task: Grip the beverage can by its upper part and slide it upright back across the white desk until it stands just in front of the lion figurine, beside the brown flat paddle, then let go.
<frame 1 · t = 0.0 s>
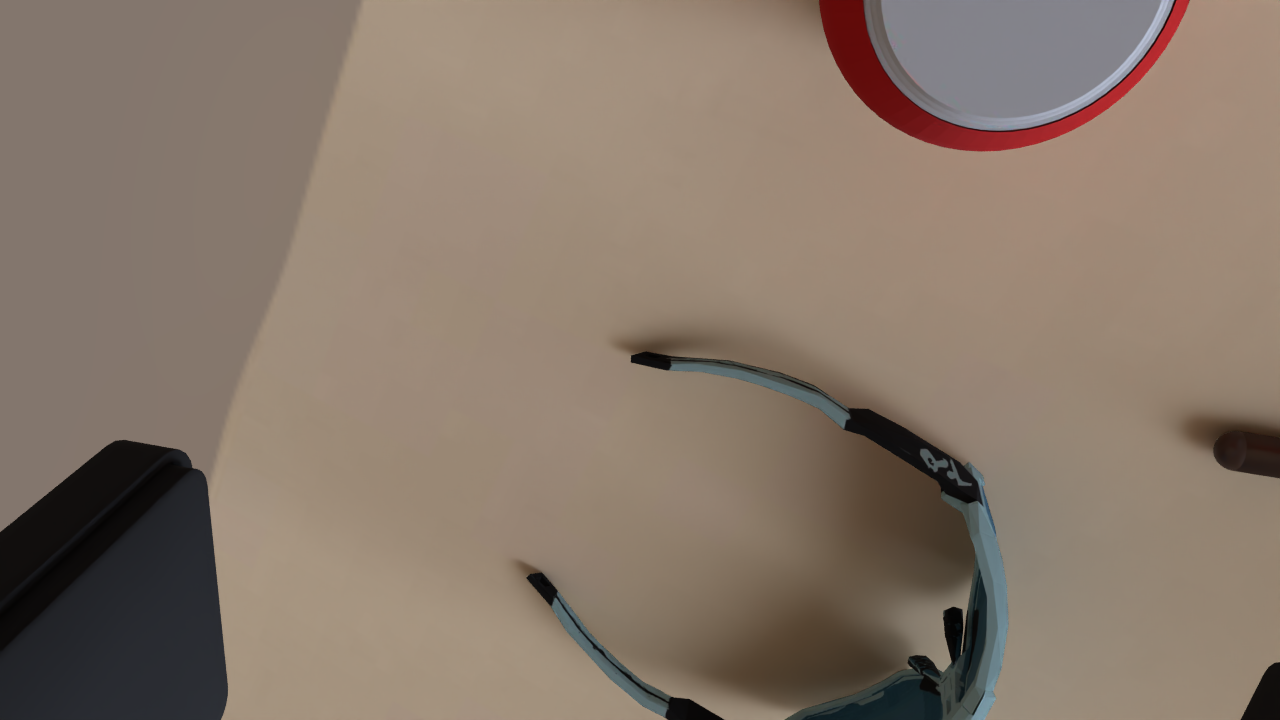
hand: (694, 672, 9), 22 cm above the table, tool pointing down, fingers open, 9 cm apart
sunglasses: (771, 547, 35), on the table
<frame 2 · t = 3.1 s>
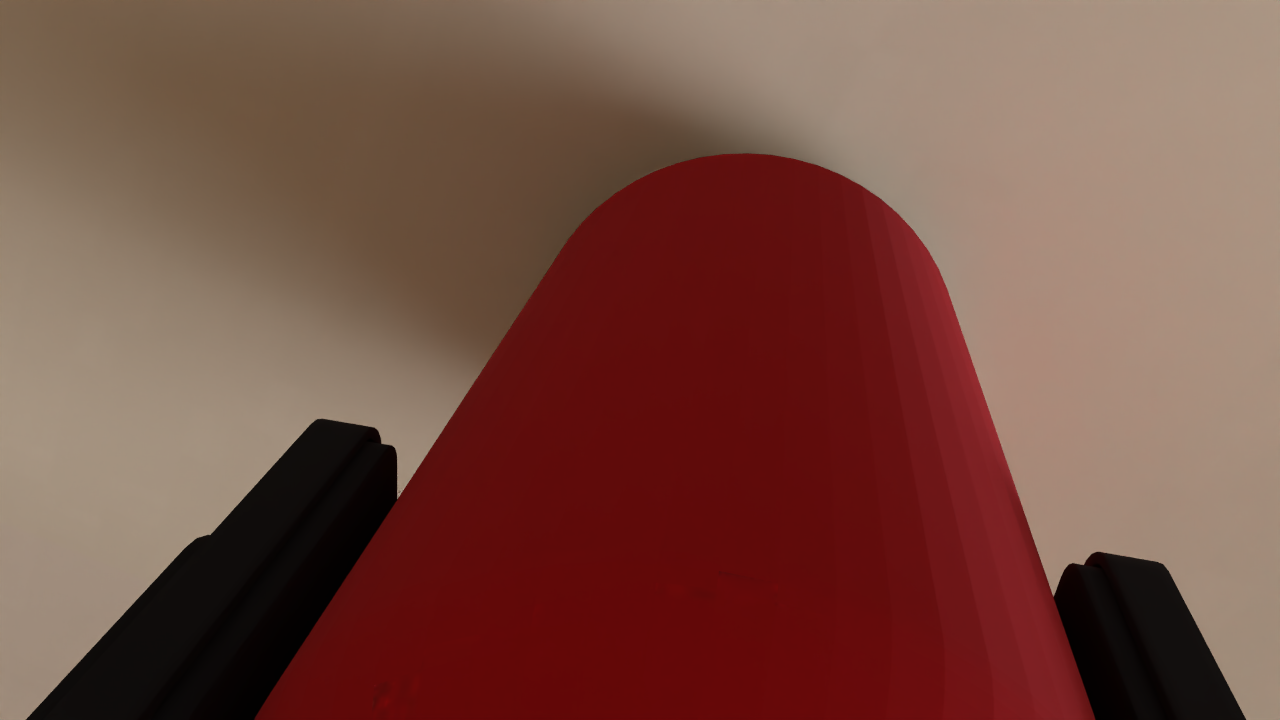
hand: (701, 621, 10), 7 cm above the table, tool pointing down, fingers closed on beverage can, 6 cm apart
beverage can: (744, 323, 16), on the table, touching gripper
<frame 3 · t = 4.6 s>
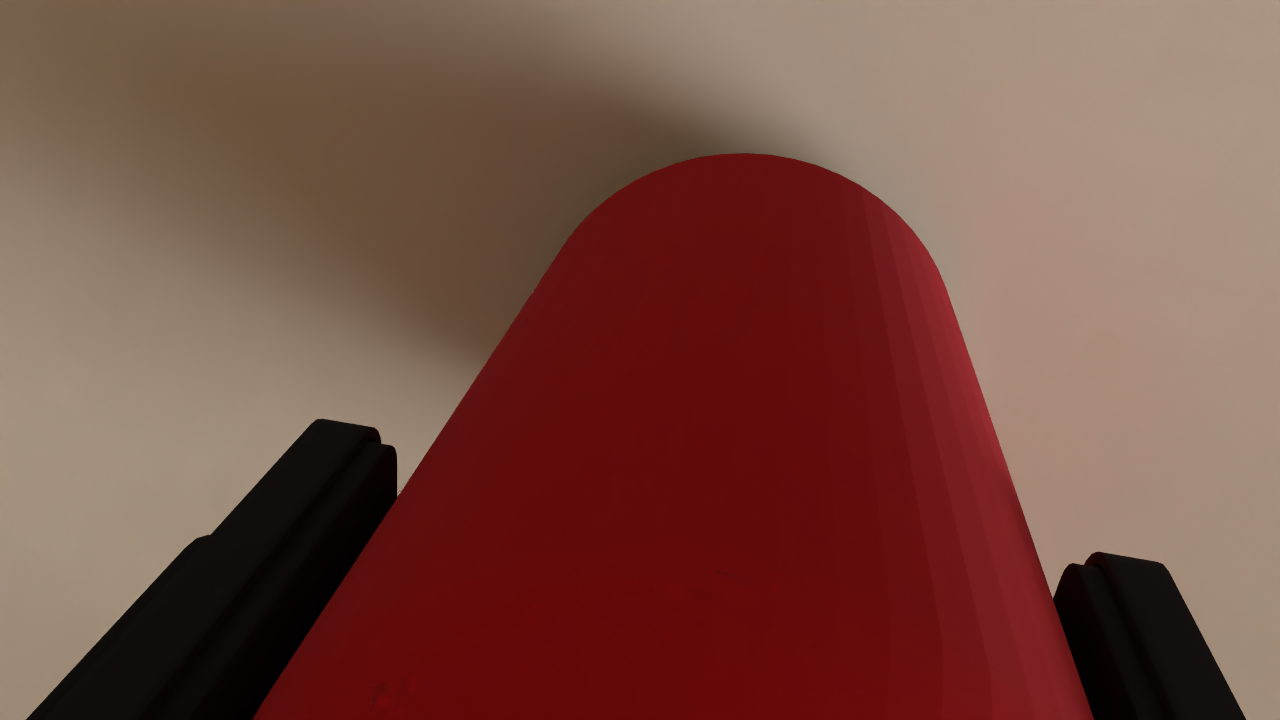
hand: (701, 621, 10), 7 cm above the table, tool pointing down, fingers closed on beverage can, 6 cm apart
beverage can: (743, 323, 16), on the table, touching gripper
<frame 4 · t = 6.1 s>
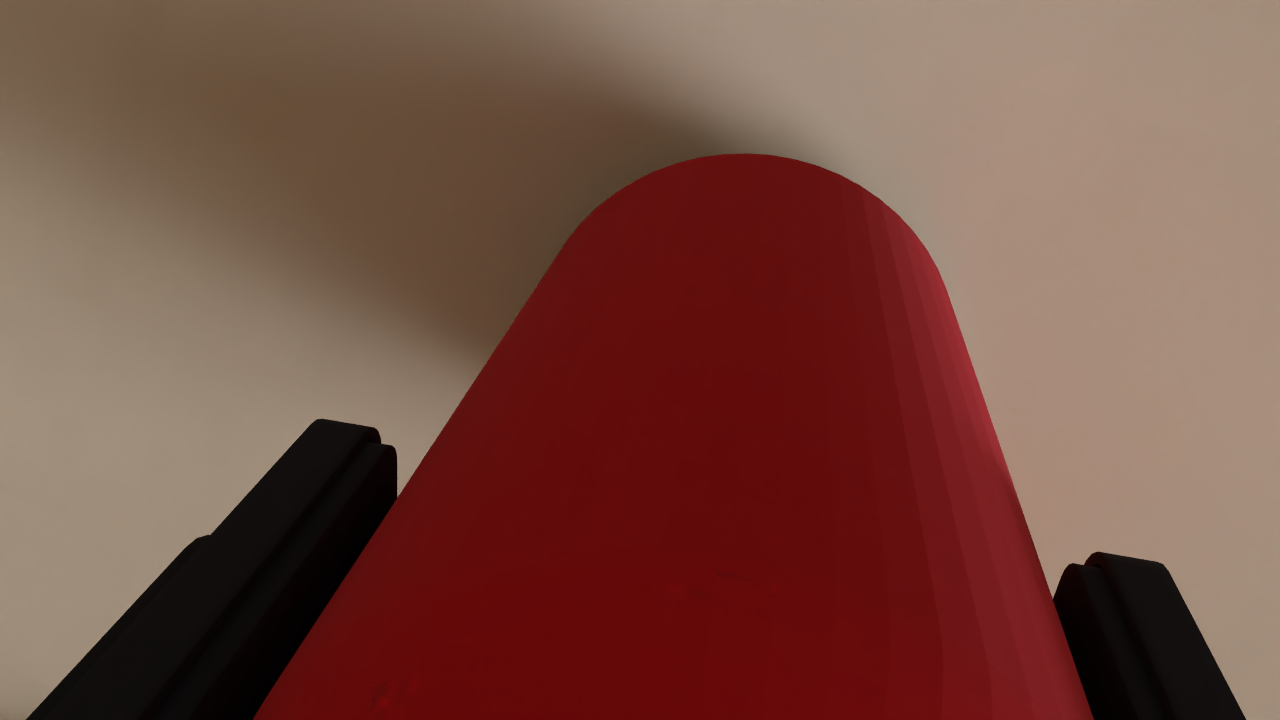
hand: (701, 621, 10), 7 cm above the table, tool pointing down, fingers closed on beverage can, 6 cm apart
beverage can: (743, 323, 16), on the table, touching gripper
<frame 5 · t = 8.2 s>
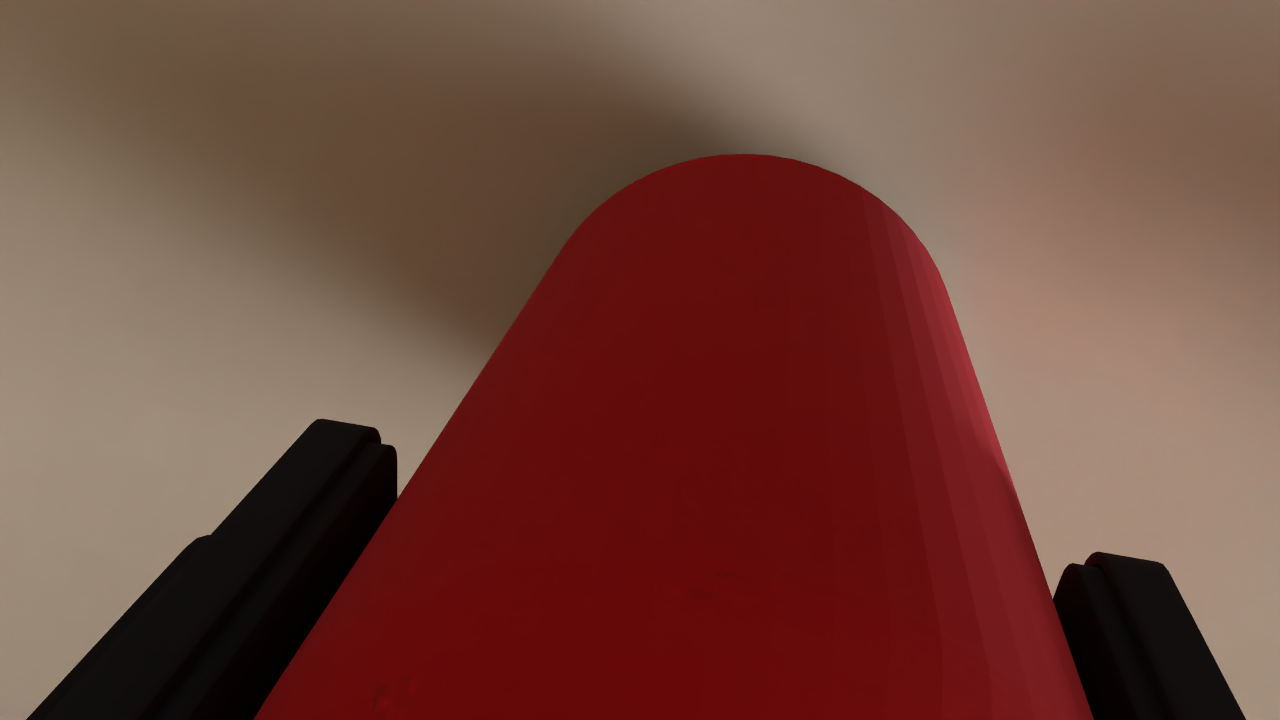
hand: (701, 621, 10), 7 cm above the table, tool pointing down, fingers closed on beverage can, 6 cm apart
beverage can: (743, 324, 16), on the table, touching gripper
when the fingers open (7 cm above the table, at t = 9.4 s): beverage can stays where it is, on the table.
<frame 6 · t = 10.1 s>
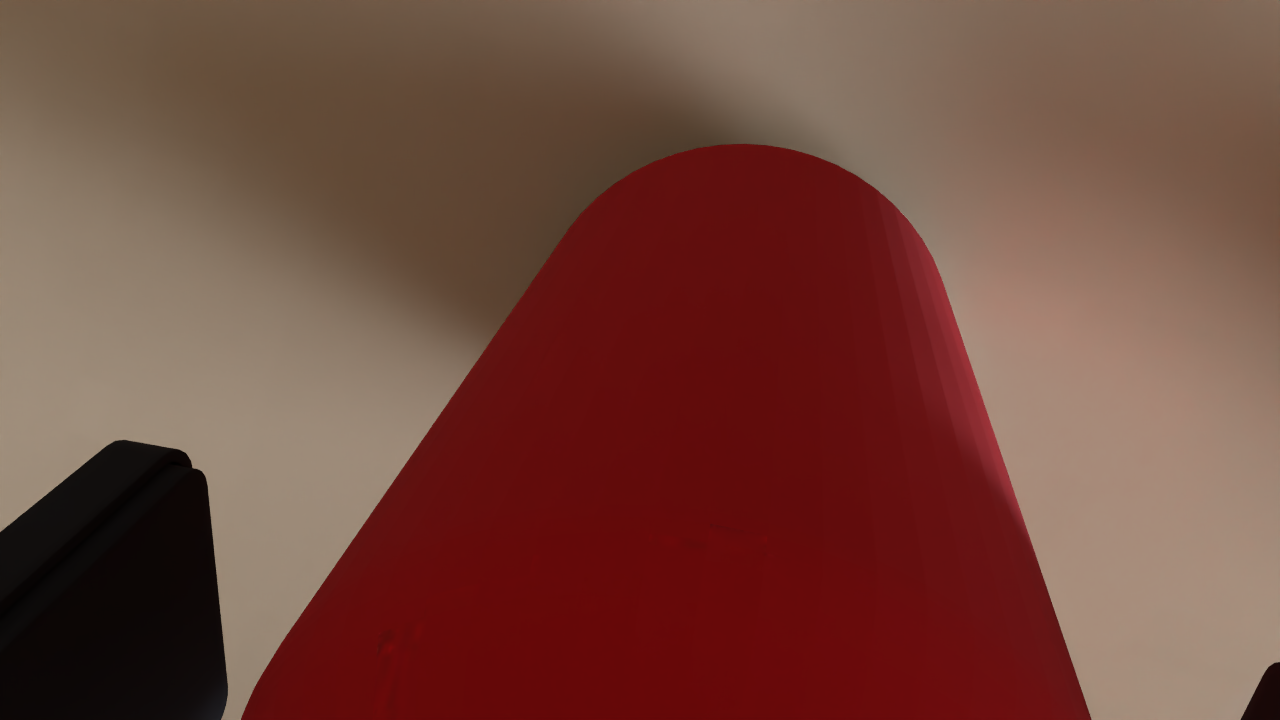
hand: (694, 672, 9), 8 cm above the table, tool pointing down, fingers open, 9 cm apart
beverage can: (741, 314, 16), on the table
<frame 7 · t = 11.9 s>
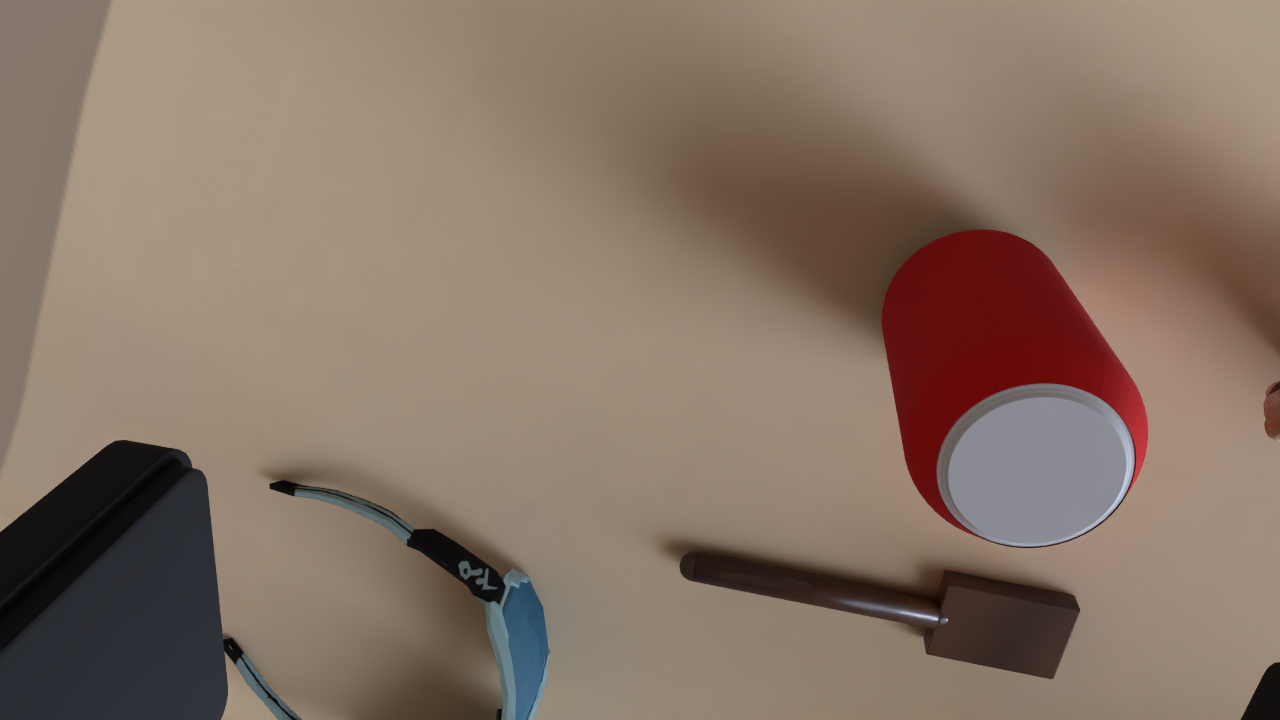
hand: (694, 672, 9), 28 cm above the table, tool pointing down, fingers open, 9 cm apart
sunglasses: (396, 624, 47), on the table
beverage can: (966, 300, 36), on the table
brown flat paddle: (885, 595, 42), on the table
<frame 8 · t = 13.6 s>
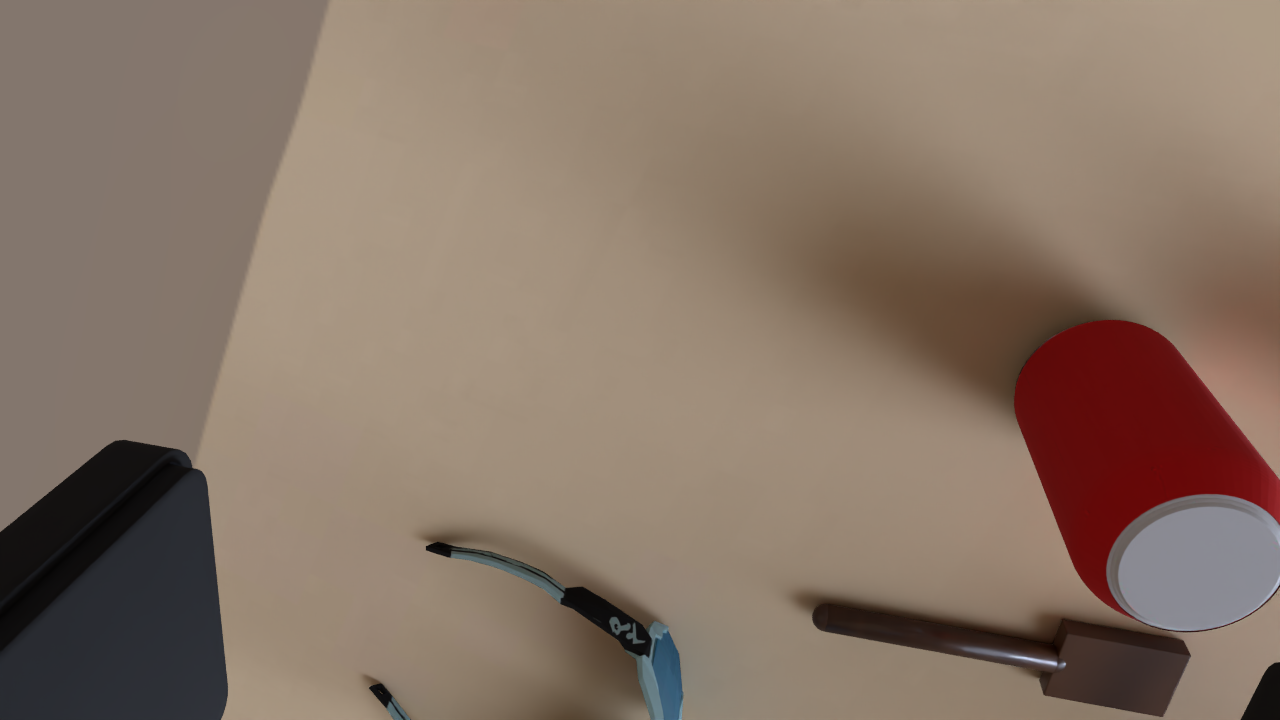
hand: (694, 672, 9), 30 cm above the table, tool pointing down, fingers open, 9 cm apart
sunglasses: (538, 669, 50), on the table
beverage can: (1090, 379, 39), on the table
brown flat paddle: (1004, 641, 45), on the table
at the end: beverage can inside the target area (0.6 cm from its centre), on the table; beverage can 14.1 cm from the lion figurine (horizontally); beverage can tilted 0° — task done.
